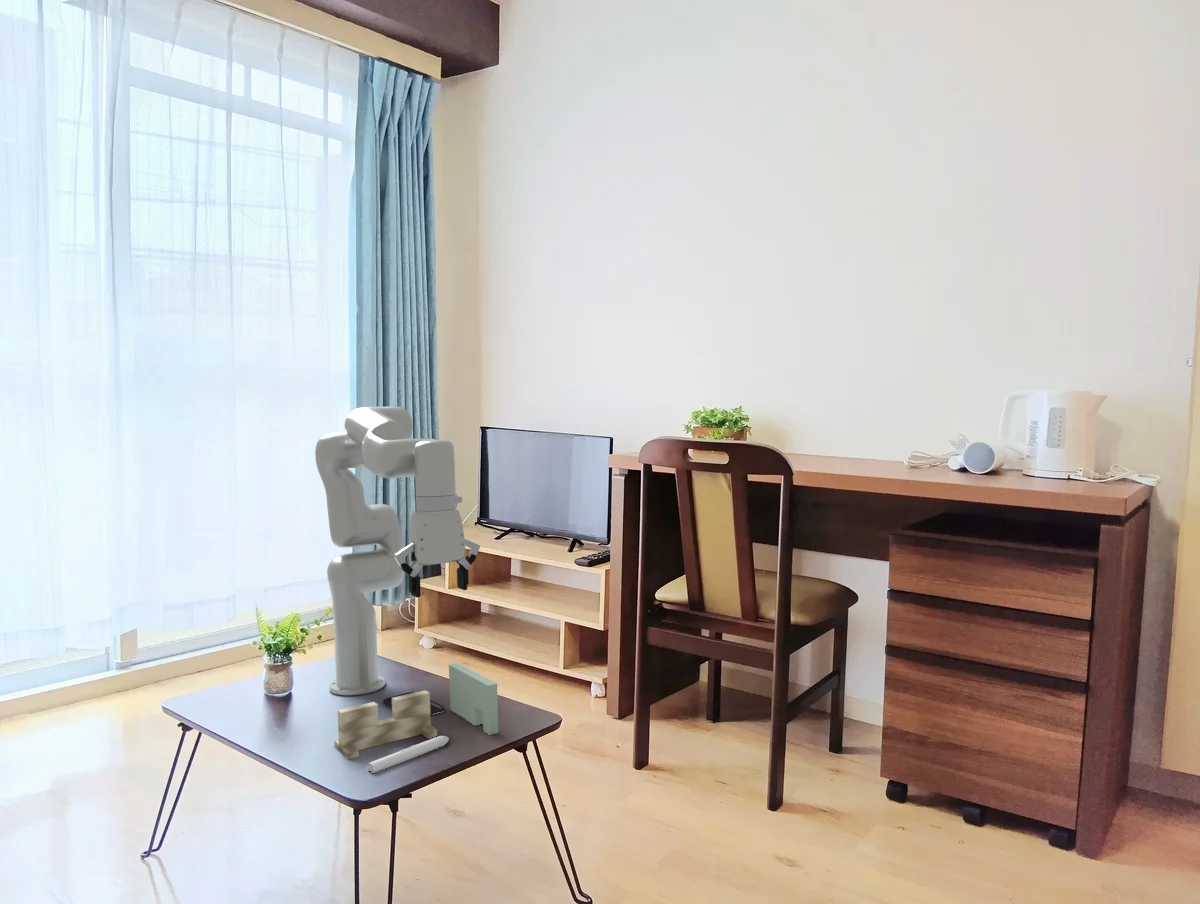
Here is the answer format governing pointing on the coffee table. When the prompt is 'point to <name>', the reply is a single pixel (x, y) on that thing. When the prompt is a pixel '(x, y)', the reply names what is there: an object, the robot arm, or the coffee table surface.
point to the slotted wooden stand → (383, 723)
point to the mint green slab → (474, 697)
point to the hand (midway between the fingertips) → (439, 592)
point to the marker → (407, 754)
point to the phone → (433, 706)
